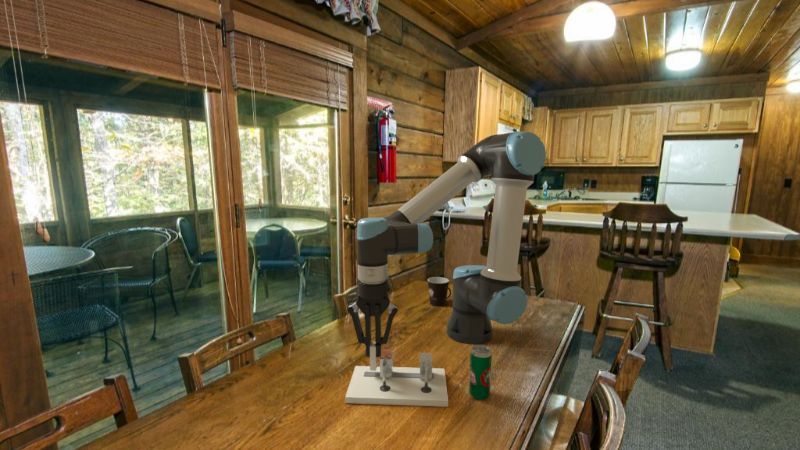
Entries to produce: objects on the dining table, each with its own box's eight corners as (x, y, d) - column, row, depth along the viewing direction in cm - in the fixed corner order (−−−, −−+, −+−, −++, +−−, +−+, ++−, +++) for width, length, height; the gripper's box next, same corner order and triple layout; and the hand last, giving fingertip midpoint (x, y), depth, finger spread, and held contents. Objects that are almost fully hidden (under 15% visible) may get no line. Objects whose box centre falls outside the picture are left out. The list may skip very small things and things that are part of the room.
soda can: (467, 388, 93) (468, 343, 91) (487, 389, 93) (489, 343, 91) (470, 401, 88) (472, 353, 86) (492, 401, 88) (494, 354, 86)
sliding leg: (392, 369, 98) (392, 348, 97) (390, 387, 90) (390, 365, 89) (381, 368, 98) (381, 348, 97) (378, 387, 90) (377, 365, 89)
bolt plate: (444, 373, 100) (444, 367, 99) (448, 406, 86) (448, 399, 85) (355, 371, 101) (355, 365, 101) (345, 403, 87) (345, 396, 87)
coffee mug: (425, 300, 155) (425, 277, 154) (445, 299, 156) (446, 276, 155) (430, 310, 144) (431, 286, 142) (452, 310, 145) (453, 285, 143)
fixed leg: (431, 371, 97) (431, 351, 97) (432, 390, 89) (432, 368, 88) (420, 370, 98) (420, 350, 97) (419, 389, 89) (420, 368, 88)
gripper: (343, 284, 89) (345, 374, 93) (397, 285, 89) (397, 376, 92) (349, 275, 97) (351, 359, 100) (399, 276, 96) (399, 361, 99)
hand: (373, 367), depth 96 cm, fingers closed
